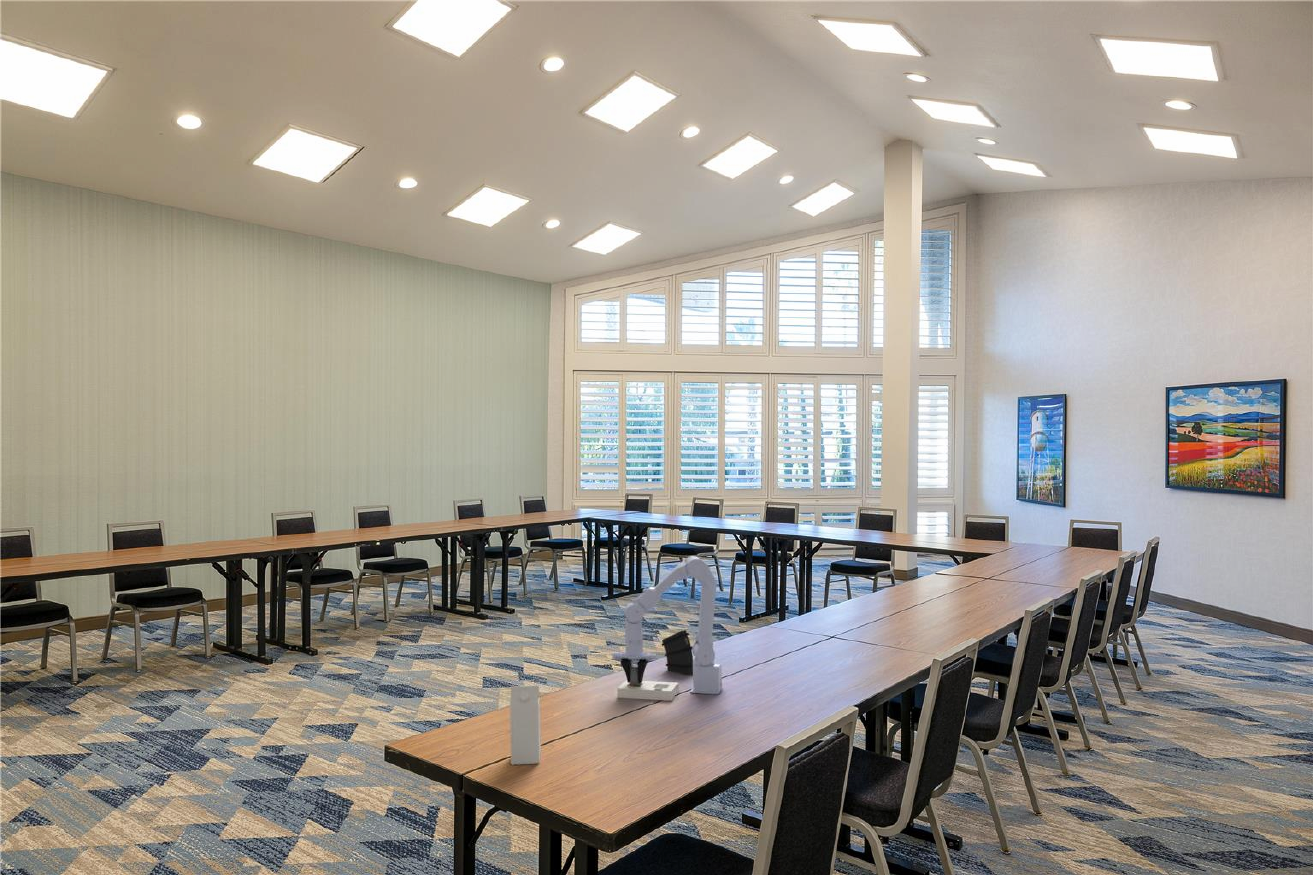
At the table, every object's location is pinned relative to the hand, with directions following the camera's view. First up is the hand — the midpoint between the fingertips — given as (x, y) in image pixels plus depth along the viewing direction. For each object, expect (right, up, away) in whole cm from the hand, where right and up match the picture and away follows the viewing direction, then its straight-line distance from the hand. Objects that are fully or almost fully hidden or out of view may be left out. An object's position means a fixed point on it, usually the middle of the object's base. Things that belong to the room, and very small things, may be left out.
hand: (634, 681), depth 274 cm
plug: (0, -2, 0) cm, 2 cm away
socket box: (+4, -4, -1) cm, 6 cm away
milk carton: (-27, -4, -57) cm, 63 cm away
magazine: (+15, -4, +27) cm, 31 cm away
